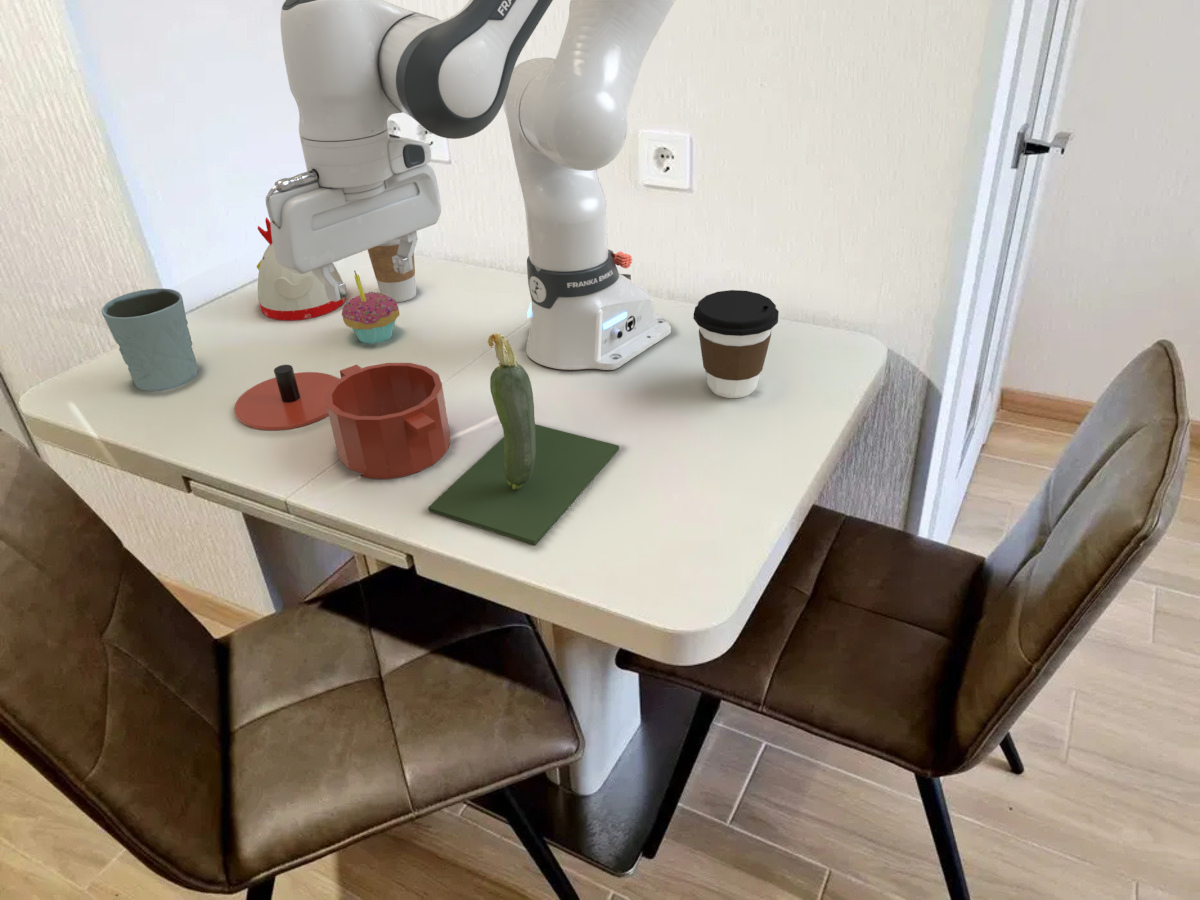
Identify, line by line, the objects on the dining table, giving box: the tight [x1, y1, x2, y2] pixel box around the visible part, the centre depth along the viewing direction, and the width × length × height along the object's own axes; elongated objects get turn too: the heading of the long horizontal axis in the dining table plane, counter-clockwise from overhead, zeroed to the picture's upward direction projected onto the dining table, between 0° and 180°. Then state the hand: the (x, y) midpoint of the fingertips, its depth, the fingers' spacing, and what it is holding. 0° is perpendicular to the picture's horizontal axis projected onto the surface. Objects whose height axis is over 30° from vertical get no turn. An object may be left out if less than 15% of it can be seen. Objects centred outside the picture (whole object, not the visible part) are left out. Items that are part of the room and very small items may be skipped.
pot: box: [325, 362, 452, 480], centre depth 107 cm, size 14×19×8 cm
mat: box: [427, 423, 620, 546], centre depth 103 cm, size 20×14×1 cm
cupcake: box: [341, 270, 400, 345], centre depth 132 cm, size 9×8×12 cm
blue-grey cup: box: [100, 288, 199, 392], centre depth 123 cm, size 10×10×12 cm
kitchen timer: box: [256, 217, 347, 321], centre depth 143 cm, size 14×14×15 cm
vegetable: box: [487, 332, 536, 490], centre depth 94 cm, size 4×4×20 cm
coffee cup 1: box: [367, 239, 417, 303], centre depth 144 cm, size 8×8×15 cm
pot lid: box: [234, 364, 340, 431], centre depth 118 cm, size 15×15×6 cm
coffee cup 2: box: [692, 289, 780, 399], centre depth 115 cm, size 11×11×12 cm
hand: (371, 284), depth 99 cm, fingers open, 8 cm apart
